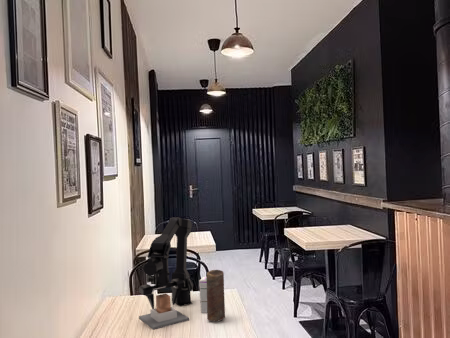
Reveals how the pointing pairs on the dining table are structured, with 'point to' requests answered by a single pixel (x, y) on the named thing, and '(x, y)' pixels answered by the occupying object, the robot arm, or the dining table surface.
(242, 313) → the dining table surface
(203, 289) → the syrup box
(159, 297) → the peg
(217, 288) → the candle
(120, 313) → the dining table surface
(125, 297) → the dining table surface
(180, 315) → the socket
